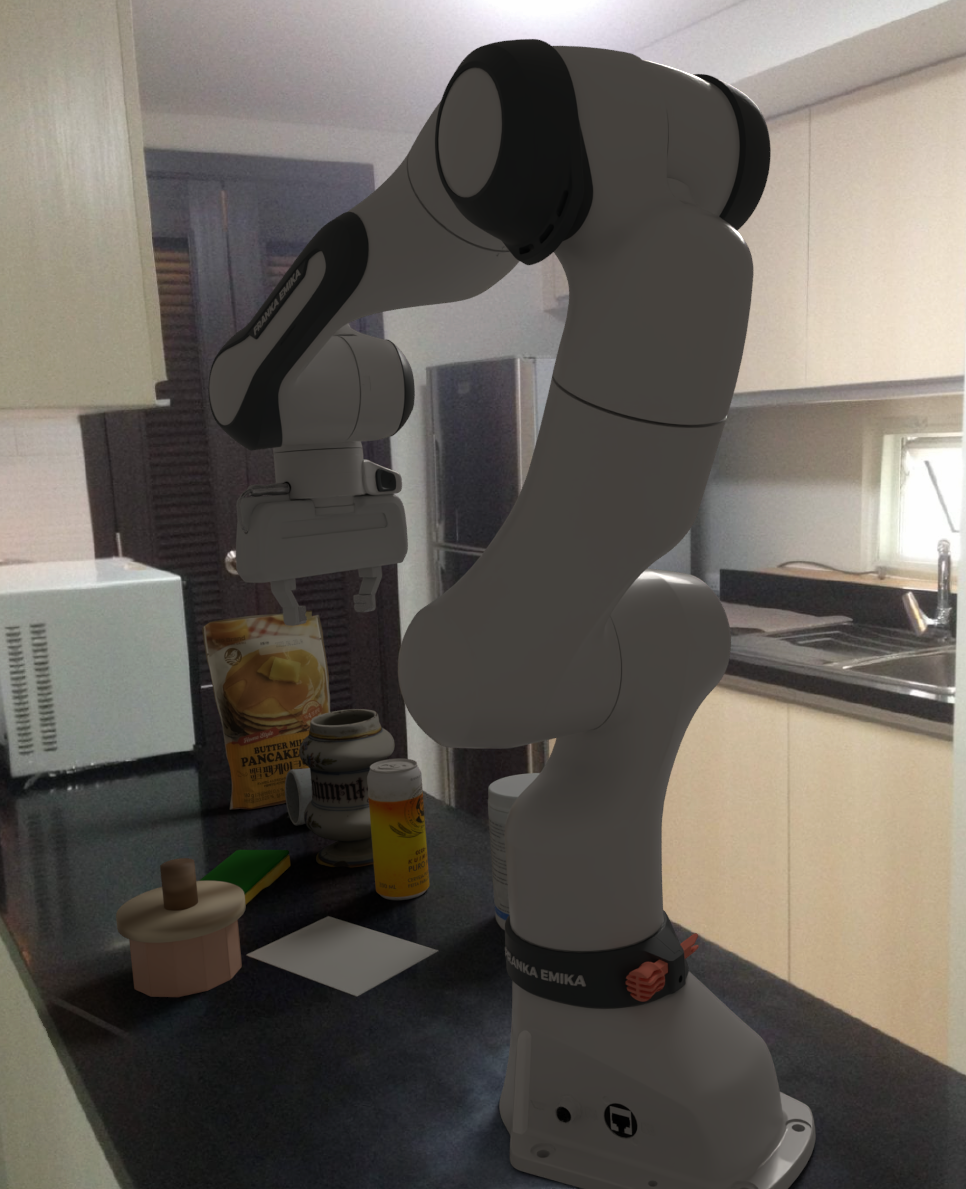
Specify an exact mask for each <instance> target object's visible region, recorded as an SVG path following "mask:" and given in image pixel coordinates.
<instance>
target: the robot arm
mask: <svg viewBox="0 0 966 1189" xmlns="http://www.w3.org/2000/svg"><path fill="white" fill-rule="evenodd" d="M771 150H772V148H771V139H770V134H769V129H768V125H767V121H766V120H765V117H764V114H763V113H762V111H761V109H760V108H759V107H758V105H757V104H756V103H755V102H754V100H753V99H751V97H749V96H748V95H747V94H745V93H744V92H743V91H741V90H739V89H738V88H736V87H735V86H733V85H731V84H730V83H728V82H726V81H724V80H722V79H719V78H717V77H716V76H712V75H710V74H705V73H703V74H702V73H694V74H691V73H689V72H686V71H683V70H680V69H677V68H676V67H675V68H674V67H671V66H669V65H664V64H663V63H658V62H654V61H650V60H646V59H642V58H641V57H639V56H638V55H636V54H634V53H631V52H626V51H621V50H615V49H608V48H601V47H592V46H591V47H590V46H580V45H579V46H578V45H577V46H575V45H551V44H550V43H549V42H547V41H544V40H541V39H536V38H528V39H527V38H525V39H524V38H523V39H522V38H521V39H508V40H502V41H495V42H491V43H487V44H484V45H481V46H479V47H477V48H475V49H474V50H472V51H471V52H470V53H468V54H467V55H466V56H465V57H464V59H463V60H462V61H461V62H460V64H459V65H458V66H457V67H456V69H455V71H454V73H453V74H452V76H451V78H450V79H449V82H448V83H447V85H446V87H445V89H444V91H443V94H442V97H441V100H440V101H439V102H438V104H437V105H436V107H434V110H432V113H431V114H430V115H429V117H428V119H427V121H426V122H425V123H424V124H423V127H422V128H421V130H420V131H419V133H418V134H417V137H416V139H415V140H414V141H413V144H412V145H411V148H410V149H409V151H408V153H407V155H406V156H405V157H404V159H403V160H402V162H401V163H400V164H399V165H398V166H397V168H396V169H395V170H394V171H393V172H392V173H391V175H389V176H388V178H386V179H385V181H384V182H382V184H381V185H379V186H378V187H377V188H375V190H374V191H372V193H370V194H369V195H368V196H367V197H365V198H364V199H363V200H362V201H360V202H359V203H357V204H356V205H355V206H353V207H352V208H350V209H349V210H347V211H345V212H343V213H341V214H340V215H338V216H336V217H335V218H334V219H332V220H330V221H328V222H326V223H325V225H323V226H322V227H321V228H320V229H319V230H318V231H317V232H316V234H315V235H314V236H313V237H312V238H311V239H310V240H309V241H308V243H307V244H306V246H304V248H303V249H302V250H301V251H300V253H299V255H298V256H297V257H296V259H295V260H294V261H293V262H292V264H291V265H290V267H289V268H288V269H287V271H286V272H285V273H284V275H283V276H282V277H281V278H280V280H279V281H278V283H277V284H276V286H274V289H273V290H272V291H271V293H270V294H269V295H268V297H267V298H266V300H265V301H264V302H263V304H262V305H261V306H260V307H259V309H258V310H257V312H256V313H255V315H254V316H253V317H252V318H251V319H250V321H249V322H248V323H247V324H246V325H245V326H244V327H243V328H241V329H240V330H239V331H237V332H236V333H234V335H233V336H231V338H229V339H228V340H227V341H226V343H225V344H223V346H221V348H220V350H218V352H217V354H216V356H215V357H214V359H213V361H212V363H211V367H210V372H209V376H208V401H209V402H208V403H209V406H210V407H209V408H210V410H211V415H212V417H213V419H214V421H215V423H216V424H217V425H218V427H220V428H221V429H222V430H223V432H225V434H227V435H228V436H229V437H230V438H231V439H233V440H234V441H235V442H236V443H238V444H239V445H241V446H242V447H244V448H245V449H246V450H249V451H250V452H251V451H258V450H259V451H260V450H266V449H267V450H268V449H273V450H272V451H273V463H274V465H273V466H274V473H275V474H274V477H275V482H274V483H269V484H250V485H249V486H248V487H247V489H245V490H244V491H243V492H242V493H241V494H240V495H239V497H238V498H237V500H236V505H235V506H236V516H237V518H236V519H237V524H236V539H235V563H236V564H235V566H236V571H237V572H236V573H237V575H238V576H239V577H240V578H241V580H243V582H244V583H248V584H249V583H250V584H253V583H254V584H264V583H265V584H266V583H270V590H271V593H272V595H273V596H274V598H275V599H276V602H277V603H278V604H279V606H280V607H281V608H282V613H283V618H284V623H285V624H286V625H289V626H295V625H300V624H304V623H306V621H307V617H306V615H305V614H306V611H307V607H306V605H299V603H298V601H297V599H296V597H295V595H294V593H293V592H292V591H296V589H297V585H296V584H297V582H296V579H300V578H308V577H313V576H320V575H327V574H333V573H341V572H348V571H354V570H355V571H356V570H357V571H358V577H359V578H362V580H361V583H360V587H359V591H358V594H353V599H352V600H353V603H354V605H353V608H354V611H355V612H356V613H368V612H374V611H375V610H376V609H377V608H376V594H377V591H378V588H379V586H380V582H381V581H382V577H383V571H382V566H388V565H395V564H401V563H403V562H404V561H405V558H406V556H407V554H408V551H409V550H408V548H409V542H408V541H409V540H408V538H409V537H408V527H407V519H406V511H405V507H404V503H403V501H402V500H401V498H400V497H399V496H398V495H396V494H398V493H400V492H401V491H402V490H403V479H402V476H401V474H400V473H399V472H398V471H396V470H393V469H390V468H387V467H385V466H382V465H379V464H378V463H375V462H373V461H371V460H369V459H366V458H365V459H364V449H363V448H364V447H363V444H362V442H371V441H379V440H383V439H386V438H388V437H389V438H390V437H393V436H394V435H396V434H397V433H398V432H400V430H401V429H402V428H403V427H404V426H405V425H406V423H407V421H409V418H410V417H411V414H412V412H413V410H414V406H415V396H416V394H415V393H416V392H415V391H416V390H415V378H414V373H413V369H412V366H411V365H410V362H409V360H408V359H407V357H406V355H405V354H404V353H403V351H402V350H401V349H400V347H398V346H397V345H396V343H394V342H393V341H392V340H390V339H387V338H385V339H383V338H380V337H377V336H373V335H370V334H365V333H363V332H361V331H360V332H359V331H357V330H356V329H354V328H352V327H351V325H350V323H352V322H355V321H357V320H359V319H362V318H364V317H368V316H372V315H375V314H380V313H383V312H384V313H385V312H389V311H396V310H401V309H402V310H403V309H409V308H416V307H425V306H426V307H427V306H430V305H431V306H432V305H442V304H449V303H456V302H461V301H466V300H469V299H473V298H475V297H477V296H479V295H482V294H483V293H485V292H486V291H488V290H489V289H490V288H492V287H493V286H495V285H496V284H498V283H499V282H500V281H502V279H504V278H505V277H506V276H507V275H508V274H509V273H510V272H512V270H514V268H515V267H516V266H517V265H519V263H520V262H521V263H522V264H523V265H525V266H533V265H535V264H538V263H540V262H543V261H545V260H546V259H547V258H548V257H550V256H551V255H552V254H554V255H555V256H556V258H557V259H558V261H559V262H560V265H561V266H562V268H563V271H564V274H565V277H566V280H567V285H568V303H567V304H568V305H567V312H566V319H565V321H564V322H565V323H564V327H563V329H562V330H563V331H562V334H561V339H560V342H559V345H558V348H557V349H558V350H557V353H556V358H555V362H554V366H553V370H552V374H551V380H550V384H549V389H548V393H547V397H546V401H545V405H544V410H543V414H542V418H541V423H540V426H539V431H538V434H537V438H536V442H535V445H534V449H533V452H532V458H531V460H530V464H529V466H528V469H527V470H528V471H527V474H526V477H525V480H524V482H523V485H522V487H521V489H520V491H519V493H518V494H519V495H518V496H517V498H516V500H515V503H514V505H512V508H511V510H510V512H509V514H508V515H507V517H506V518H505V520H504V522H503V523H502V525H501V526H500V528H499V530H498V531H497V532H496V534H495V535H494V537H493V539H491V542H490V543H489V544H488V546H486V548H485V550H483V552H482V553H481V554H480V556H479V557H478V558H477V560H476V561H475V562H474V563H473V565H472V566H470V568H469V569H468V570H467V571H466V572H465V574H463V575H462V577H460V578H459V579H458V580H457V582H455V583H454V584H453V585H452V586H451V587H449V588H448V589H447V590H446V591H444V592H443V593H442V594H441V595H440V596H438V597H437V598H435V599H434V600H432V601H431V602H430V603H428V604H426V606H424V607H422V608H421V609H420V610H418V612H417V613H416V614H414V616H413V617H412V619H411V621H410V623H409V624H408V626H407V628H406V630H405V632H404V635H403V637H402V640H401V644H400V648H399V653H398V657H397V658H398V661H397V676H398V685H399V686H398V687H399V689H400V694H401V696H402V699H403V702H404V705H405V707H406V709H407V711H408V713H409V714H410V716H411V718H412V719H413V720H414V722H415V723H416V725H417V726H418V727H419V729H420V730H422V732H424V734H426V736H428V737H429V738H430V739H431V740H432V741H434V742H435V743H436V744H437V745H440V746H441V747H445V748H449V749H450V748H452V749H453V748H454V749H457V748H458V749H513V748H518V747H524V746H527V745H532V744H536V743H541V742H545V741H549V740H554V739H555V743H554V744H553V748H552V751H551V753H550V755H549V757H548V759H547V761H546V763H545V765H544V766H543V768H542V770H541V771H540V772H539V773H540V774H539V775H538V776H537V778H536V779H535V780H534V781H533V782H532V783H531V784H530V785H529V786H528V787H527V788H526V789H525V790H524V791H523V792H522V793H521V794H520V795H519V796H518V798H517V799H516V800H515V802H514V803H513V805H512V807H511V809H510V811H509V814H508V817H507V820H506V825H505V832H504V834H505V849H506V865H507V881H508V897H509V913H510V915H509V916H508V917H507V919H506V922H505V930H504V940H505V941H504V943H505V944H504V945H505V946H504V951H505V952H504V953H505V954H504V955H505V964H506V972H507V975H508V977H509V978H510V979H511V980H512V981H511V982H512V983H511V984H512V985H511V986H512V989H511V990H512V991H511V992H512V994H511V995H512V997H511V1000H512V1001H511V1005H512V1006H511V1026H510V1027H511V1028H510V1029H511V1030H510V1041H509V1051H508V1059H507V1065H506V1071H505V1076H504V1082H503V1087H502V1090H501V1094H500V1097H499V1104H498V1106H499V1113H500V1114H499V1115H500V1117H501V1119H502V1120H501V1121H502V1122H503V1125H504V1126H505V1129H506V1130H507V1132H508V1134H509V1136H510V1138H509V1139H510V1140H509V1141H510V1142H509V1162H510V1165H511V1166H512V1167H513V1168H514V1169H515V1170H518V1171H519V1172H524V1173H526V1174H530V1175H534V1176H538V1177H540V1178H545V1179H548V1180H552V1181H555V1182H559V1183H561V1184H565V1185H569V1186H573V1187H575V1188H576V1187H577V1188H579V1189H789V1188H790V1187H791V1186H792V1184H793V1183H794V1182H795V1181H796V1180H797V1178H798V1177H799V1176H800V1174H801V1173H802V1172H803V1170H804V1168H805V1167H806V1166H807V1164H808V1161H810V1159H811V1156H812V1154H813V1150H814V1148H815V1145H816V1144H815V1143H816V1138H817V1136H816V1126H815V1125H816V1124H815V1119H814V1115H813V1113H812V1109H811V1108H810V1107H809V1106H808V1105H807V1104H806V1103H804V1102H802V1101H800V1100H798V1099H796V1098H794V1097H792V1096H790V1095H788V1094H786V1093H784V1092H782V1091H780V1086H779V1085H780V1084H779V1081H778V1077H777V1071H776V1068H775V1064H774V1061H773V1056H772V1054H771V1052H770V1049H769V1047H768V1045H767V1043H766V1041H765V1040H764V1039H763V1038H762V1036H760V1035H759V1033H757V1032H756V1031H755V1030H754V1029H752V1027H750V1026H749V1025H748V1024H747V1023H746V1022H745V1021H744V1020H742V1019H741V1018H740V1017H739V1016H738V1015H737V1014H736V1013H735V1012H734V1011H732V1010H731V1009H730V1008H729V1007H728V1006H727V1005H726V1004H725V1003H724V1002H723V1001H721V999H719V998H718V997H717V995H715V994H714V993H713V992H712V991H711V990H710V989H709V988H708V987H707V986H706V985H705V984H704V983H702V981H700V980H699V979H698V978H697V977H696V976H695V975H694V974H693V973H692V972H691V971H690V970H689V969H690V967H689V963H688V960H687V958H689V957H690V956H692V954H694V953H695V952H696V951H697V950H698V949H699V948H700V946H699V944H696V942H697V939H698V938H699V934H698V933H696V932H695V933H693V934H692V935H690V936H689V937H687V938H686V939H685V940H683V941H682V942H680V941H679V937H678V936H677V933H676V931H675V929H674V926H673V923H672V922H671V920H670V917H669V915H668V914H667V912H666V910H664V899H663V895H664V893H663V869H662V868H663V861H662V860H663V859H662V858H663V852H662V851H663V848H662V847H663V846H662V844H663V840H662V839H663V836H662V833H663V832H662V831H663V829H662V828H663V815H664V806H665V799H666V796H667V791H668V790H667V789H668V786H669V782H670V779H671V778H670V777H671V775H672V770H673V767H674V766H675V765H674V764H675V761H676V758H677V755H678V752H679V750H680V746H681V744H682V741H683V738H684V736H685V734H686V731H687V730H688V727H689V725H690V724H691V721H692V720H693V718H694V716H695V714H696V713H697V711H698V709H699V708H700V706H702V703H703V702H704V701H705V699H706V698H707V697H708V696H709V695H710V693H711V692H712V691H713V690H714V689H715V688H716V687H717V686H718V685H719V684H720V682H721V681H722V679H723V677H724V676H725V673H726V671H727V669H728V666H729V663H730V662H729V661H730V657H731V651H732V650H731V648H732V632H731V627H730V623H729V619H728V615H727V613H726V611H725V608H724V606H723V604H722V602H721V600H720V598H719V597H718V595H717V594H716V592H715V591H714V590H713V589H712V588H711V587H710V586H709V585H708V584H707V582H705V581H703V580H702V579H701V578H699V577H697V576H695V575H693V574H690V573H686V572H681V571H680V572H678V571H672V570H666V569H660V568H659V569H657V568H650V567H651V566H652V565H653V564H655V563H656V562H657V561H658V560H660V559H661V558H662V557H664V556H665V555H667V554H668V553H669V552H670V551H672V550H673V549H674V548H676V546H678V545H679V543H680V542H681V541H682V540H683V539H684V538H685V537H686V536H687V534H688V533H689V532H690V530H691V528H692V527H693V525H694V523H695V521H696V519H697V516H698V513H699V509H700V507H701V503H702V500H703V497H704V493H705V490H706V487H707V483H708V480H709V477H710V474H711V471H712V467H713V464H714V460H715V458H716V453H717V450H718V448H719V445H720V441H721V439H722V438H721V437H722V435H723V431H724V428H725V424H726V422H727V419H728V418H727V417H728V414H729V411H730V408H731V403H732V401H733V396H734V394H735V391H736V390H735V389H736V386H737V383H738V378H739V373H740V370H741V369H740V368H741V364H742V361H743V355H744V350H745V344H746V340H747V334H748V328H749V321H750V320H749V319H750V312H751V304H752V298H753V297H752V294H753V286H754V284H753V283H754V262H753V256H752V253H751V250H750V248H749V246H748V243H747V241H746V240H745V239H744V238H743V236H742V235H741V234H740V232H739V229H741V228H743V226H744V225H745V224H746V223H747V221H748V220H749V219H750V218H751V216H752V215H753V213H754V212H755V210H756V209H757V206H758V205H759V203H760V201H761V199H762V196H763V194H764V191H765V188H766V185H767V182H768V179H769V173H770V169H771V168H770V166H771V156H772V155H771Z"/></svg>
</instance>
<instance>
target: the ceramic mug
mask: <svg viewBox="0 0 966 1189" xmlns="http://www.w3.org/2000/svg"><path fill="white" fill-rule="evenodd" d="M285 797H286V803H285V804H286V808H287V813H288V817H289V819H290V821H291V822H292V824H293V825H294V826H302V825H306V823H305V820H304V812H305V809H306V807H307V805H308V804H309V802H310V801H311V800H312V783H311V772H310V768H306V769H293V770H290V771H289V772H288V773H287V776H286V781H285Z"/></svg>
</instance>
